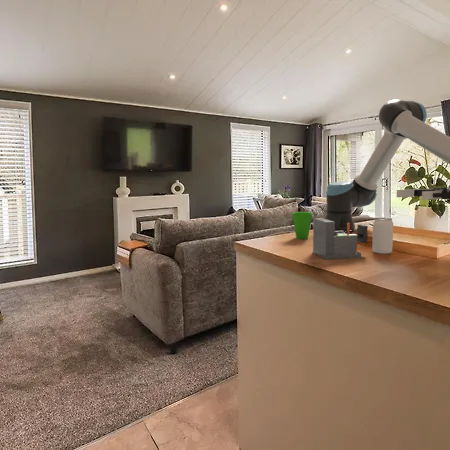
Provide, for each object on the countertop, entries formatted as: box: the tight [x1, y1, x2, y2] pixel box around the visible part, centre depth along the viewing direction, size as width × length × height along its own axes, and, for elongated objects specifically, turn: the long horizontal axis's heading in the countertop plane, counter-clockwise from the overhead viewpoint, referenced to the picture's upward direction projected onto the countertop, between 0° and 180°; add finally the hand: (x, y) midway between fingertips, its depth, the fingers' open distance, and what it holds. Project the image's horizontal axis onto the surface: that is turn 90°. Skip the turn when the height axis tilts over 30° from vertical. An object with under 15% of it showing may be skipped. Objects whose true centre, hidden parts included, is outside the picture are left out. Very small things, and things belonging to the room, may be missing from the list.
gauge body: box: [312, 217, 362, 261], centre depth 121 cm, size 12×11×12 cm
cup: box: [291, 211, 313, 240], centre depth 154 cm, size 9×9×11 cm
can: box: [371, 217, 394, 255], centre depth 123 cm, size 6×6×12 cm
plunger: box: [336, 223, 369, 244], centre depth 121 cm, size 9×6×8 cm, turn 98°
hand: (409, 194), depth 123 cm, fingers open, 13 cm apart
